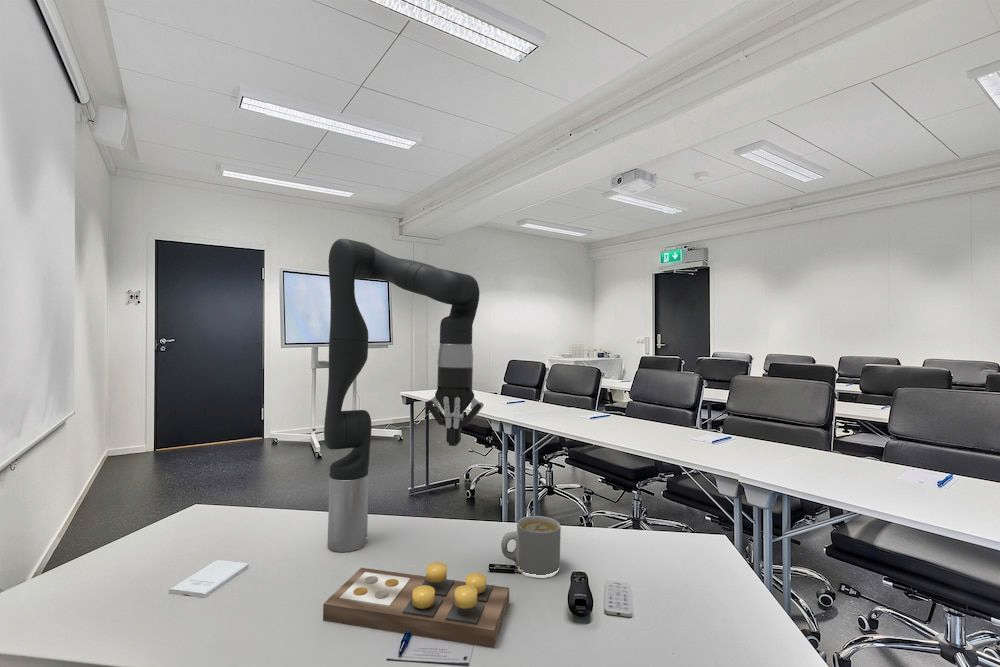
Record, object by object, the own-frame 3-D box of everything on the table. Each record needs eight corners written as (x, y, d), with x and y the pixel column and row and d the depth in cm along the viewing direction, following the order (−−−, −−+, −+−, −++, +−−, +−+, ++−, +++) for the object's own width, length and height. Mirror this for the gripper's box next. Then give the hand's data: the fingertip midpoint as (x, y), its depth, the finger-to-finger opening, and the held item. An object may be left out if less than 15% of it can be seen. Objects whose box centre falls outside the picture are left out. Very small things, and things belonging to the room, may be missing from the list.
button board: (360, 581, 100) (361, 565, 100) (509, 602, 94) (509, 585, 94) (322, 620, 86) (323, 601, 86) (493, 648, 80) (494, 627, 80)
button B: (417, 594, 89) (417, 584, 89) (437, 597, 88) (437, 587, 88) (408, 606, 85) (409, 595, 85) (429, 609, 84) (430, 598, 84)
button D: (458, 594, 87) (458, 583, 87) (479, 597, 86) (479, 586, 86) (451, 606, 83) (452, 595, 83) (473, 610, 82) (474, 598, 82)
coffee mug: (558, 558, 113) (559, 516, 113) (561, 580, 103) (562, 534, 103) (502, 555, 114) (503, 514, 114) (499, 576, 104) (500, 531, 104)
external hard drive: (248, 570, 105) (204, 601, 93) (215, 566, 106) (168, 596, 94) (248, 563, 105) (204, 592, 93) (216, 559, 106) (168, 588, 94)
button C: (468, 581, 94) (468, 571, 94) (488, 584, 93) (488, 574, 93) (462, 592, 90) (463, 581, 90) (483, 595, 89) (483, 584, 89)
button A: (430, 571, 95) (430, 561, 95) (449, 573, 95) (449, 563, 95) (423, 580, 92) (423, 570, 92) (442, 583, 91) (443, 573, 91)
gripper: (489, 365, 105) (487, 443, 104) (432, 363, 107) (430, 439, 107) (480, 367, 97) (478, 451, 97) (420, 364, 100) (418, 446, 100)
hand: (453, 445), depth 102 cm, fingers closed
